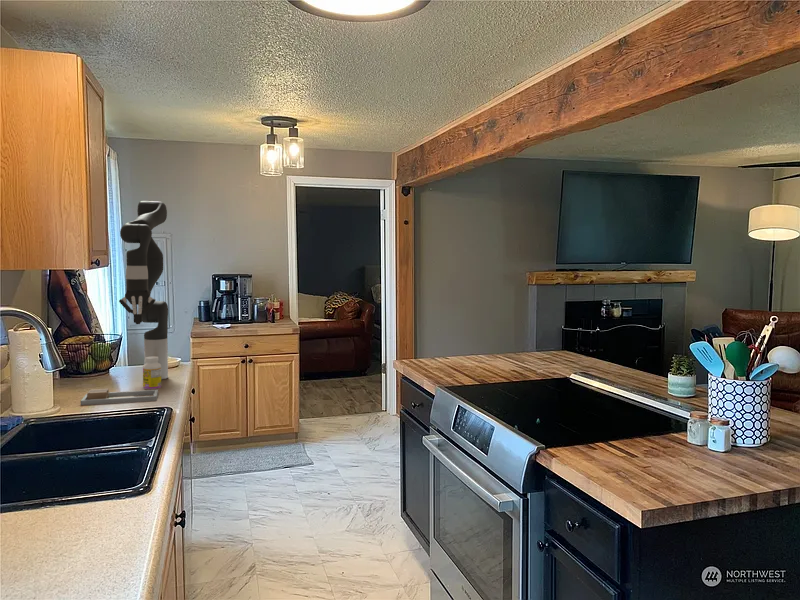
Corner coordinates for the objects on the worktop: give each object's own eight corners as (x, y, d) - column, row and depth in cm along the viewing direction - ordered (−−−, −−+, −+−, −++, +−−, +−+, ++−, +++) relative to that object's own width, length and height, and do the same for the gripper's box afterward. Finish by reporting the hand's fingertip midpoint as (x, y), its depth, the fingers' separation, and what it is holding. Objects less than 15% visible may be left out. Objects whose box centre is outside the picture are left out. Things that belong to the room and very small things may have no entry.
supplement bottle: (140, 389, 230) (140, 356, 229) (158, 386, 234) (157, 355, 234) (146, 392, 225) (145, 359, 224) (163, 389, 229) (163, 357, 228)
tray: (86, 400, 211) (86, 393, 211) (158, 396, 219) (158, 389, 219) (80, 407, 201) (80, 400, 201) (156, 403, 209) (156, 396, 208)
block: (90, 399, 209) (90, 389, 209) (108, 398, 211) (108, 388, 211) (87, 403, 203) (87, 393, 203) (106, 401, 205) (106, 392, 205)
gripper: (157, 277, 223) (157, 322, 225) (119, 277, 219) (119, 323, 220) (155, 278, 216) (156, 324, 218) (116, 278, 212) (117, 325, 213)
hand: (137, 323), depth 219 cm, fingers closed
